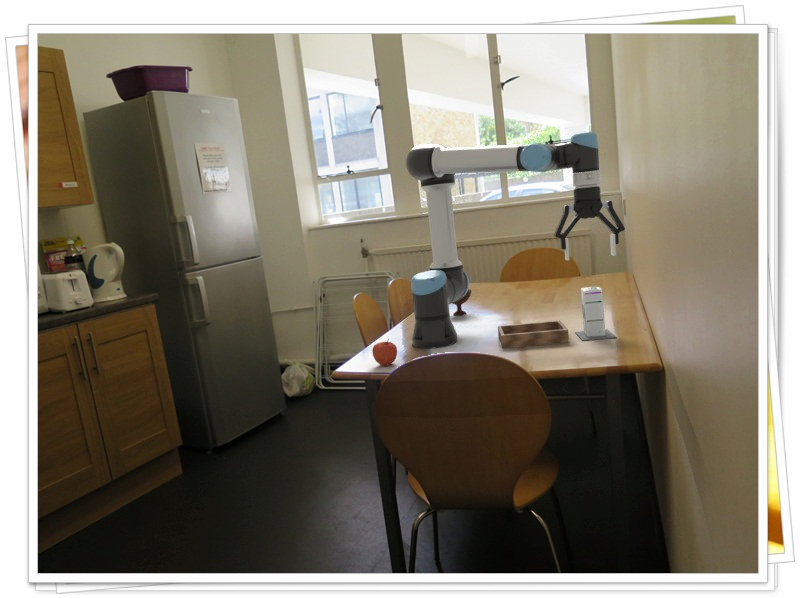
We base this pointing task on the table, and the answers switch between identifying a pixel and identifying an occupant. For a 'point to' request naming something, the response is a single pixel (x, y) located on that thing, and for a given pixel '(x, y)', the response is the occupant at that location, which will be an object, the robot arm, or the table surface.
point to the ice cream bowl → (460, 302)
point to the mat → (584, 338)
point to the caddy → (533, 334)
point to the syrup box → (593, 311)
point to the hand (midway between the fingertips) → (590, 257)
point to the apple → (384, 353)
